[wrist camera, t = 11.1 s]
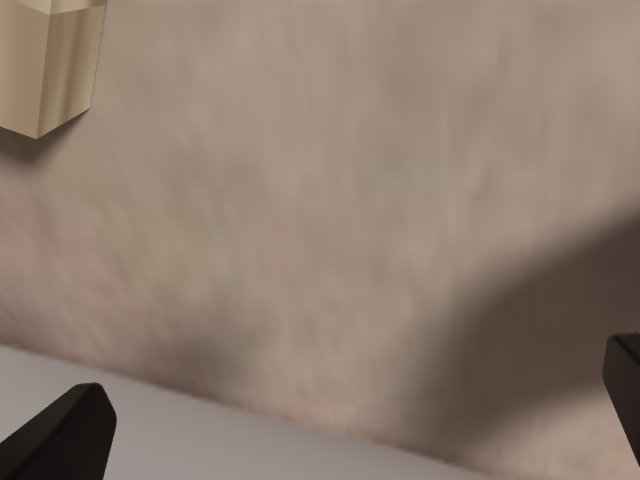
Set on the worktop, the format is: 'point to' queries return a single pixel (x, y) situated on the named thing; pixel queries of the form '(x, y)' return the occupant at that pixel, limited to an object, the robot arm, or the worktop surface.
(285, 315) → the worktop surface
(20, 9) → the socket block
